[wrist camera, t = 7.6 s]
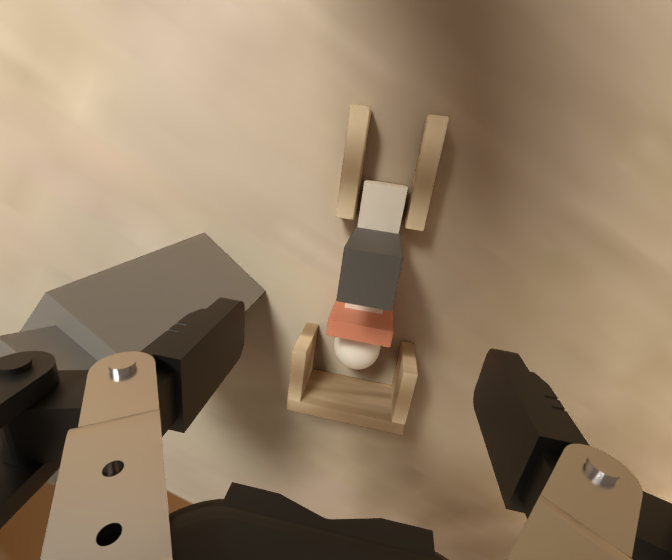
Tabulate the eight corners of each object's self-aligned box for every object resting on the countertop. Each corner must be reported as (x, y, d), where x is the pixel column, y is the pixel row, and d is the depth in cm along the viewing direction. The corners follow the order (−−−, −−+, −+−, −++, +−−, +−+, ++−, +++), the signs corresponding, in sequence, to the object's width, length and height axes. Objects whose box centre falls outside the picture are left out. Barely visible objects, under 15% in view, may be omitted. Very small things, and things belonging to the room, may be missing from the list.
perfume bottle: (265, 290, 28) (81, 478, 12) (218, 337, 31) (7, 552, 14) (204, 232, 27) (-91, 343, 11) (160, 285, 30) (-141, 445, 13)
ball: (334, 331, 24) (327, 373, 26) (383, 341, 24) (375, 383, 25) (340, 311, 28) (335, 349, 29) (384, 319, 28) (377, 357, 29)
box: (306, 322, 29) (292, 349, 25) (414, 343, 28) (417, 375, 24) (300, 376, 31) (286, 409, 26) (400, 397, 30) (402, 435, 26)
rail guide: (354, 108, 23) (350, 104, 21) (444, 120, 22) (449, 116, 20) (339, 212, 25) (335, 217, 23) (421, 225, 25) (423, 231, 23)
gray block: (355, 177, 24) (338, 185, 16) (417, 187, 24) (430, 199, 16) (336, 308, 28) (315, 364, 20) (390, 318, 27) (389, 379, 20)
